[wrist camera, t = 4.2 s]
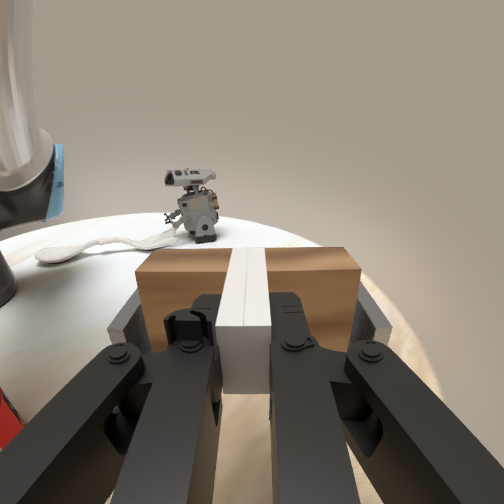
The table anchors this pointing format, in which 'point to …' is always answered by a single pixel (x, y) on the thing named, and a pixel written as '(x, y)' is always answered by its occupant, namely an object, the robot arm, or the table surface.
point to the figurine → (195, 203)
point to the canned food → (8, 421)
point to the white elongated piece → (68, 252)
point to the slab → (279, 280)
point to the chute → (364, 328)
